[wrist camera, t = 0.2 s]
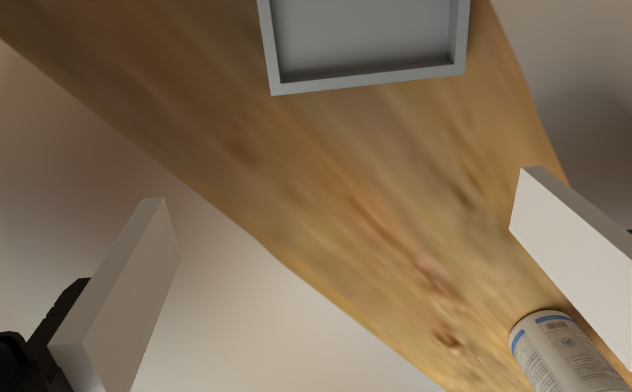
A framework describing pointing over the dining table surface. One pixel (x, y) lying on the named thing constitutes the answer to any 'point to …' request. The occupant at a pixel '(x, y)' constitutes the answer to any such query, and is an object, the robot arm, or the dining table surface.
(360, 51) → the tray
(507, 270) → the dining table surface
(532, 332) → the supplement tub
